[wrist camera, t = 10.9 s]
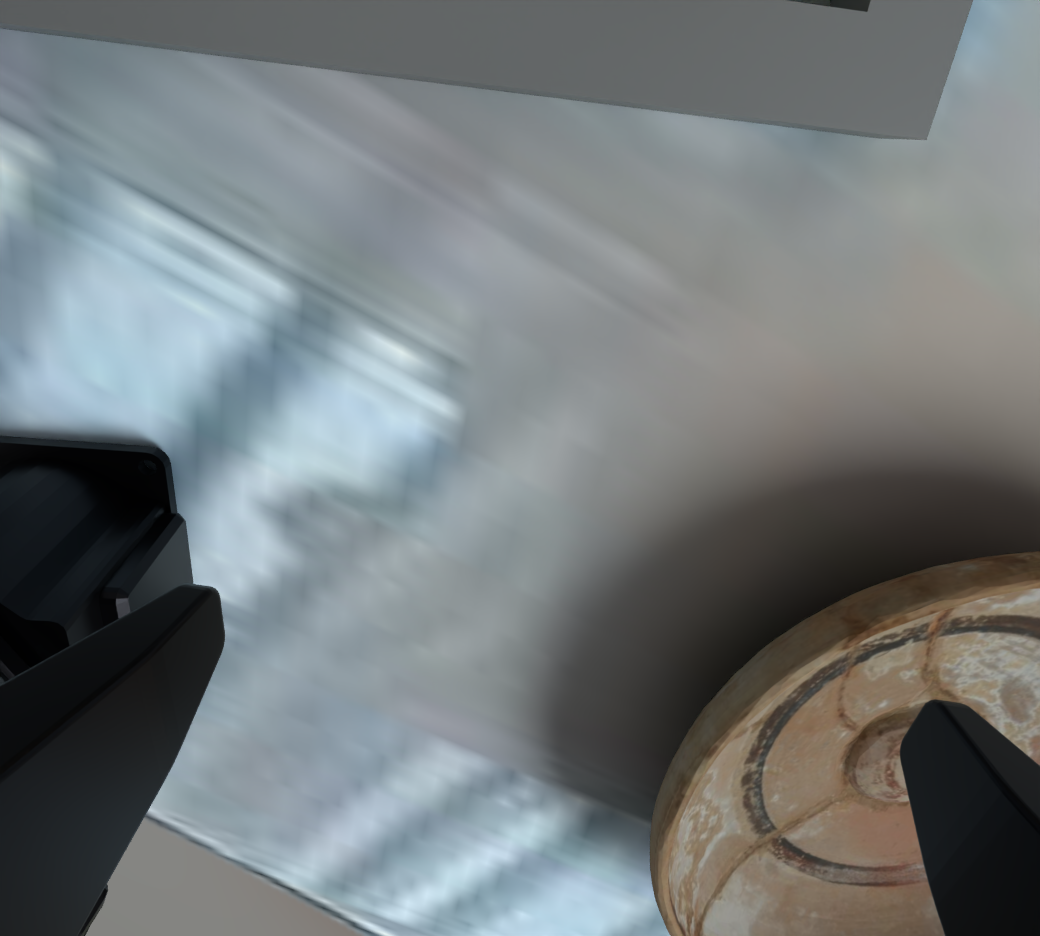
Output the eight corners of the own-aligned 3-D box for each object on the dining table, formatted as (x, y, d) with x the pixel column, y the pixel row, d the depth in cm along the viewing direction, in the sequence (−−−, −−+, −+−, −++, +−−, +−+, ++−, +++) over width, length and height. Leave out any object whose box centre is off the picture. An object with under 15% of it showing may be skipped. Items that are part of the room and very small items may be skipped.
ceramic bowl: (1282, 428, 23) (1481, 503, 18) (1128, 865, 33) (1230, 980, 29) (590, 559, 23) (618, 662, 19) (656, 945, 34) (684, 1070, 29)
